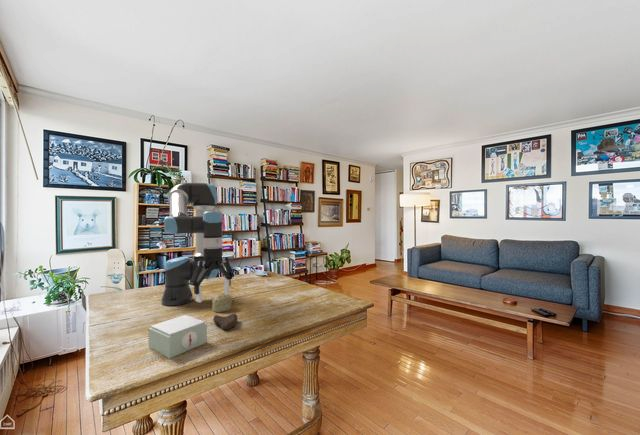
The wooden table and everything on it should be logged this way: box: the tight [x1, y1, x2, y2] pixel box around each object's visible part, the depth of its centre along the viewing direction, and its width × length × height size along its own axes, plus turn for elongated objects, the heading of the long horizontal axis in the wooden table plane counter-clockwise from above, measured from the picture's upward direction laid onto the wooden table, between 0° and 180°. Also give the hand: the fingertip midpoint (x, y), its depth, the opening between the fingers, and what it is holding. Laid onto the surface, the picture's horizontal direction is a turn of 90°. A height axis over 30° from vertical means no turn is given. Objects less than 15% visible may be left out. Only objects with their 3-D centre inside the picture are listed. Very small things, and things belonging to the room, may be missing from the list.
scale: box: [148, 314, 208, 359], centre depth 101 cm, size 15×14×8 cm
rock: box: [212, 313, 238, 330], centre depth 118 cm, size 11×10×4 cm
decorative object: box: [211, 292, 233, 313], centre depth 139 cm, size 9×10×10 cm
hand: (213, 297), depth 117 cm, fingers open, 13 cm apart
